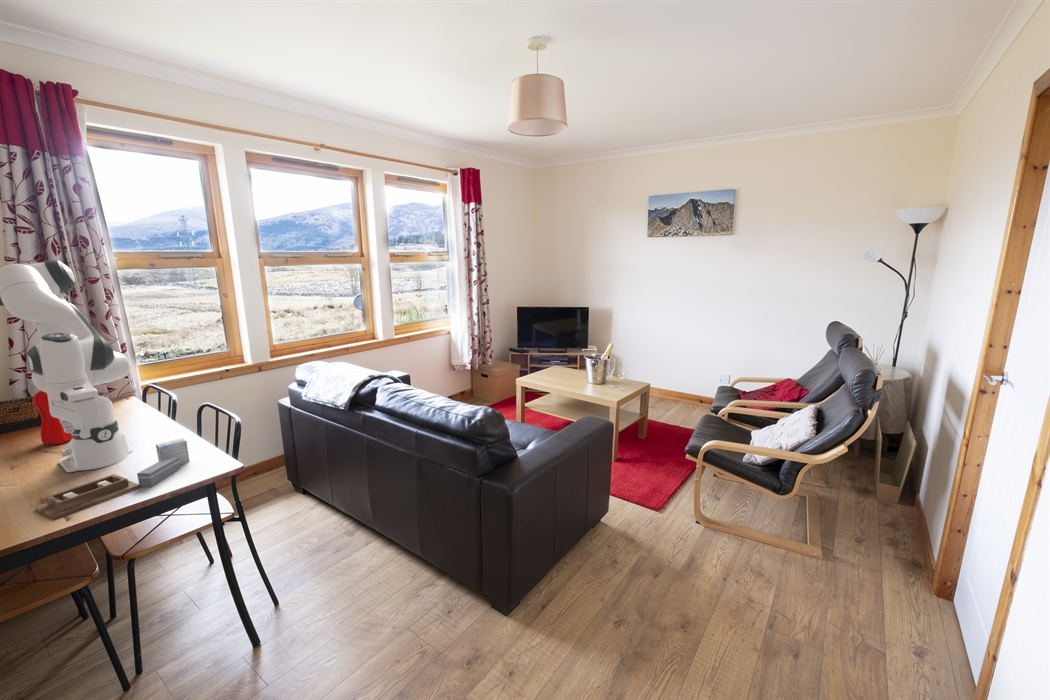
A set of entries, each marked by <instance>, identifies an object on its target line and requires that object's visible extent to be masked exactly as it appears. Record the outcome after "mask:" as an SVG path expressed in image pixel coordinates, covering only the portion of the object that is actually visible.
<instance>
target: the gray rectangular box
mask: <svg viewBox="0 0 1050 700" xmlns="http://www.w3.org/2000/svg"><path fill="white" fill-rule="evenodd" d="M180 470H181V464H179V457H167V458H165V459H163V460H161V461H157V462H156V463H154V464H152V465H150V466H148V467H147V468H145V469H143V470H141V471H139V472H136V474H137V481H138V484H139V485H140V488H153V487H155V486H156V485H158V484H159V483H160V482H161V483H162V482H163V481H164V480H165V479H167V478H168V477H170V476H172V475H173V474H175V473H176V472H178V471H180Z"/></svg>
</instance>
